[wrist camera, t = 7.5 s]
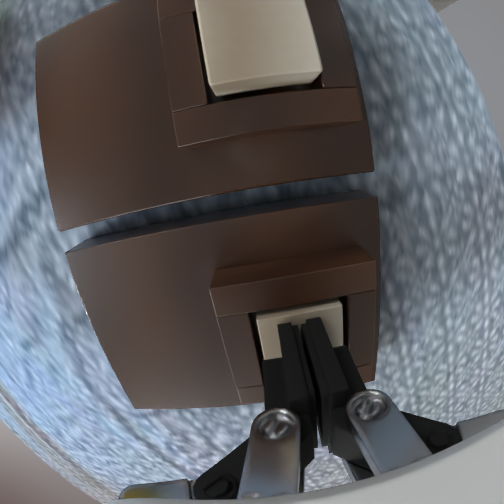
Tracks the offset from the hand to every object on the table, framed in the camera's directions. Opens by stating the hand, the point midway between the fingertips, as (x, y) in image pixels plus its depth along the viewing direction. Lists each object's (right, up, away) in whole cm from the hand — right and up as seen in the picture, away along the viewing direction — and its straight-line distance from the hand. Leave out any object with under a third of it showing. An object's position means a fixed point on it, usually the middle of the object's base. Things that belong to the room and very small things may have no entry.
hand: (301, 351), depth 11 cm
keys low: (-5, +11, +1) cm, 12 cm away
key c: (-2, +11, -3) cm, 11 cm away
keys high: (-3, +1, +4) cm, 5 cm away
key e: (0, +1, +2) cm, 2 cm away
